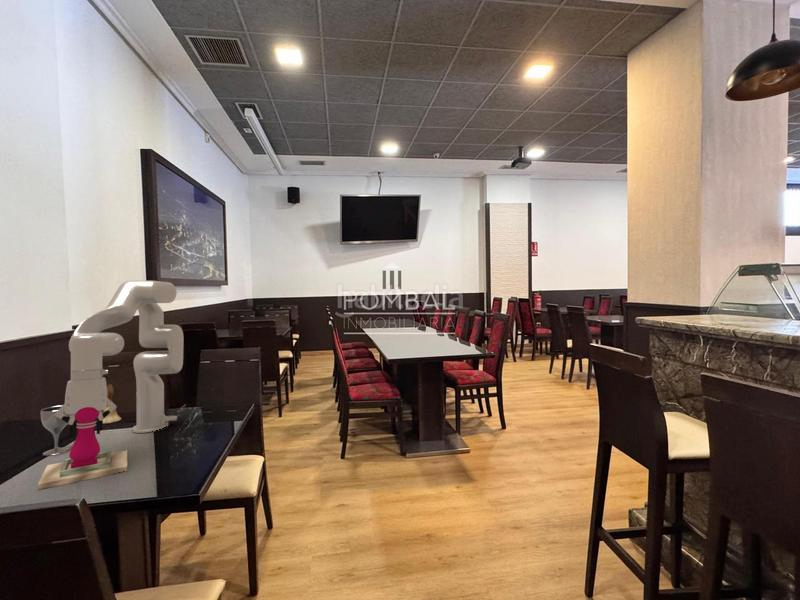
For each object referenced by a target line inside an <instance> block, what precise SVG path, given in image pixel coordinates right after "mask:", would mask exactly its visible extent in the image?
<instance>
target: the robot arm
mask: <svg viewBox="0 0 800 600" xmlns="http://www.w3.org/2000/svg"><path fill="white" fill-rule="evenodd" d="M177 295H178V294H177V288H176V286H175V285H174V284H173V283H172V282H168V281H160V280H159V281H158V280H128V281H124V282H122V283H121V284H120V285H119V286H118V288H117V290H116V291H115V293H114V294H113V296H112V298H111V299H110V301H109V303H108V305H107V306H106V307H104V308H103V309H101V310H99V311H97V312H95V313H93V314H92V315H90V316H88V317H86V318H85V319H83V320H82V321H81V322H80V323H79V324H78V326H77V327H76V329H74V331H73V333H72V335H71V337H70V339H69V342H68V350H69V352H70V380H68V381H67V382H66V383H67V384H66V388H65V395H64V404H62V405H63V406H62V407H61V408H60V409H59V410H58V411H57V412H56V413H55V415H54V416H55V417H57V418H60V419H62V420H63V421H65V422H66V423H68V424H67V425H69V436H72V437H71V438H72V439H76V437H77V432H78V429H77V428H76V423H77V422H76V421H77V420H76V419H75V417H74V416H75V414H76V412H77V411H78V410H80V409H82V408H86V407H93V408H95V409H97V410H98V411H99V416H98V417H97V419H96V420H97V425H96V435H100V434H101V431H103V430H104V424H103V419H104V418H105V417H106V416H107V415H108V414H109V413H111V412H112V411H113V410H114V409H116V410H117V407H118V406H117V404H115V402H114V401H113V400H112V401H110V400H109V399H108V394H107V387H108V384H107V383H108V382H107V379H106V377H103V376H105V375H108V374H109V370H108V369H104V368H103V357H104V356H105V357H106V356H114V355H118V354H120V352H122V350H124V347H125V339H124V337H123V336H122V335H121V334H119V333H116V332H103V331H105V330H107V329H111V328H113V327H117V326H121V325H123V324H126V323H128V322H130V321H131V320H133V319H134V316H135V314H136V312H137V311H138V315H139V318H138V319H139V323H138V326H139V327H138V342H139V345H140V347H142V348H146V349H147V348H148V349H149V348H150V349H151V348H152V349H153V348H154V349H156V348H157V349H158V348H161V349H162V348H166V349H168V350H148V351H142V352H139V353H138V354H136V355H135V356H134V359H133V361H132V362H133V364H132V365H133V370H134V373H135V374H134V375H135V379H136V380H135V381H136V382H135V383H136V385H135V386H136V394H135V395H136V425H133V427H131V432H133V433H136V434H144V433H152V431H153V432H157V431H156V430H158V431H160V430H159V429H161V430H163V429H162V428H164V427H166V426H167V427H169V422H175V421H177V420H178V416H177V415H165V414H166V413H165V384H164V382H163V379H162V378H161V377H160V375H174V374H179V372H180V371H181V370H182V369H183V365H184V331H183V329H182V327H181V326H179V325H178V324H164V323H165V321H164V319H165V315H164V314H165V313H164V311H163V309H162V307H161V306H160V305H159V304H171V303H173V302H174V301H175V300H176V297H177ZM107 405H108V406H109V407H110V408H109V409H107V410H106V411H105V412H104V413H103V410H105V409H106V408H107ZM64 410H65V414H67V415H71V417H68V416H67V415H64V414H63V411H64ZM167 427H166V428H167ZM164 429H165V428H164Z"/></svg>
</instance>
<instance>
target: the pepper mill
mask: <svg viewBox="0 0 800 600" xmlns="http://www.w3.org/2000/svg"><path fill="white" fill-rule="evenodd" d="M98 416H99V411H98V410H97V409H95V408H93V407H86V408H82V409H80V410H78V411H77V412H76V414H75V416H74V417H75V421H77V422H76V428H77V435H76V437H75V440H74V442H73V444H72V446H71V447H70V450H69V455H68V456H69V458H71V459H72V460H73V462H72V463H71V469H72V468H78V467H83V466H88V465H93V464H97V460H98V459H97V458H96V456H97V455H98V454H99V453H101V446H100V442H99V441H98V439H97V437H96V427H97V420H98Z"/></svg>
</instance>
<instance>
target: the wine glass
mask: <svg viewBox="0 0 800 600" xmlns="http://www.w3.org/2000/svg"><path fill="white" fill-rule="evenodd" d="M63 405H64V404H62V405H55V406H48V407H45V408H42V409H41V410H40V420H41V424H42V427H44V429H46V430H47V431H49V432H50V433H51V434H52V436H53V439H54V447H53V448H52V449H49V450H46V451H44V452H42V454H43V455H42V456H54V455H60V454H63V453H65V452H64V451H66V452H68V451H69V450H68V448H69V447H66V448H65V447H59V437H60V433H61V432H62V430H64V428H65V427H66V426H67V425H69V424H68V423H66V422H65V421H63V420H62V419H60V418H57V417H55V416H54V415H55V413H56V412H57V411H58V410H59V409H60V408H61V407H62V406H63ZM63 414H64V415H67V414H65V410H64V411H63ZM67 416H68V417H71V415H67ZM67 450H68V451H67ZM62 452H63V453H62Z"/></svg>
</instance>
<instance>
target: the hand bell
mask: <svg viewBox="0 0 800 600" xmlns="http://www.w3.org/2000/svg"><path fill="white" fill-rule="evenodd" d="M114 393H115V392H114V386H113V384H107V394H108V399H109V400H110V401H112V402H113V397H114ZM109 408H110V407H109V406H108V405H107V408H106V409H105V410H103V411H102V412H103V413H104V412H105V411H106V410H107V409H109ZM118 421H122V418H121V417H120V415H118V413H117V408H116V409H114V410H113V411H112V412H111V413H109V414H108V415H107V416H106V417H105V418H104V419H103V425H104V424H112V423H116V422H118Z"/></svg>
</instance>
